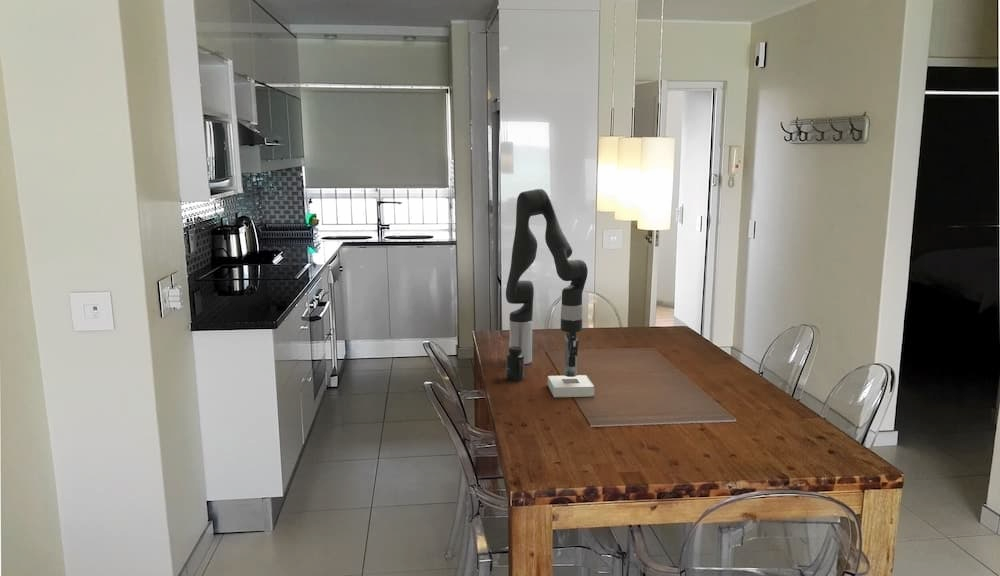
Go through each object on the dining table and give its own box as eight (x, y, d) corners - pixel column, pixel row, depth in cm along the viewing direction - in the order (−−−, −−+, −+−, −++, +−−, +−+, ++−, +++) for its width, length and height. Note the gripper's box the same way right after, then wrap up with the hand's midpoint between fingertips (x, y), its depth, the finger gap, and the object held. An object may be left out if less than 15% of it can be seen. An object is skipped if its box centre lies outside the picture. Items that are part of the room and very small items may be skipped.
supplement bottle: (502, 379, 270) (502, 348, 268) (510, 375, 276) (511, 344, 274) (519, 382, 267) (519, 350, 265) (527, 377, 273) (527, 346, 271)
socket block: (547, 385, 264) (547, 375, 263) (585, 384, 265) (586, 375, 265) (554, 397, 250) (554, 387, 250) (594, 396, 251) (594, 386, 251)
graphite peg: (563, 373, 259) (563, 340, 257) (575, 373, 259) (575, 340, 257) (565, 377, 254) (565, 343, 252) (577, 376, 255) (578, 343, 253)
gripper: (557, 313, 260) (556, 359, 263) (564, 321, 246) (563, 370, 249) (578, 313, 261) (577, 359, 263) (586, 321, 247) (585, 370, 249)
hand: (570, 364), depth 256 cm, fingers closed on graphite peg, 4 cm apart
